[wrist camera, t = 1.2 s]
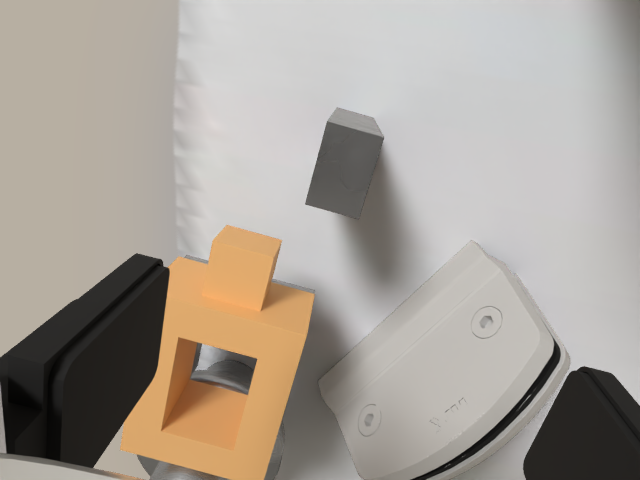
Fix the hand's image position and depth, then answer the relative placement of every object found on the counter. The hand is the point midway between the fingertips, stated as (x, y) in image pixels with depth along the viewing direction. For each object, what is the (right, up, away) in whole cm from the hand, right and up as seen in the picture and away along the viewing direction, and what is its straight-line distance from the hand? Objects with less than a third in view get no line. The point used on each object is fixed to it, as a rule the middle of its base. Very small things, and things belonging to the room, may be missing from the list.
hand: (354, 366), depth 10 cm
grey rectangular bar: (+1, +9, +19) cm, 21 cm away
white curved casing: (+7, -5, +24) cm, 25 cm away
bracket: (-6, -2, +17) cm, 18 cm away
